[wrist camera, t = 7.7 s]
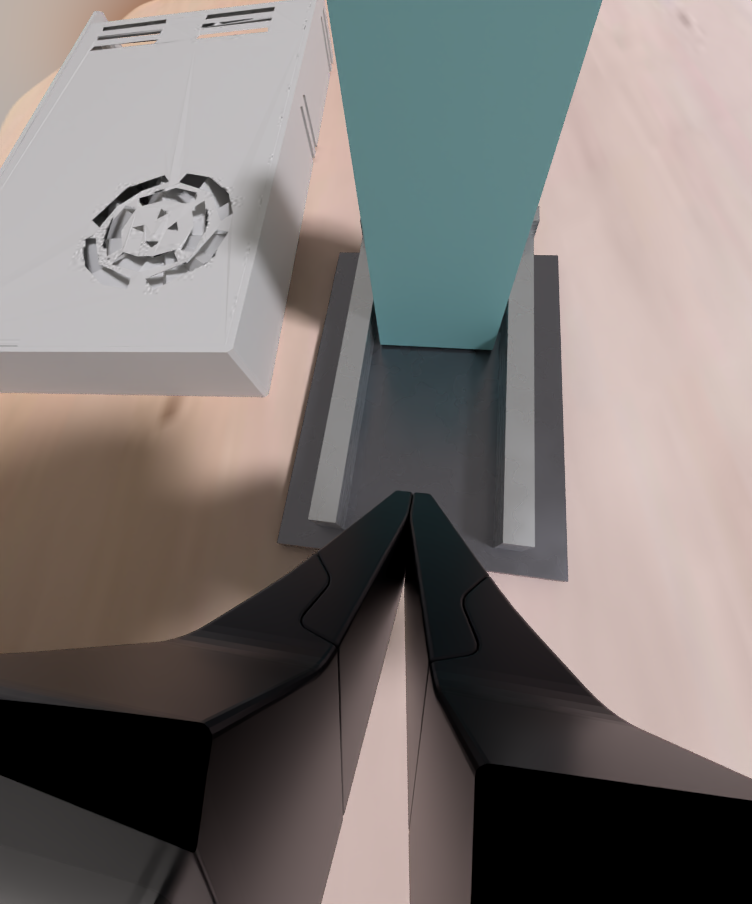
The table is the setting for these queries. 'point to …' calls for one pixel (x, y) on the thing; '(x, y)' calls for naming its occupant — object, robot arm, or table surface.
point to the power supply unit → (162, 204)
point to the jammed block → (452, 149)
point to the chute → (440, 426)
